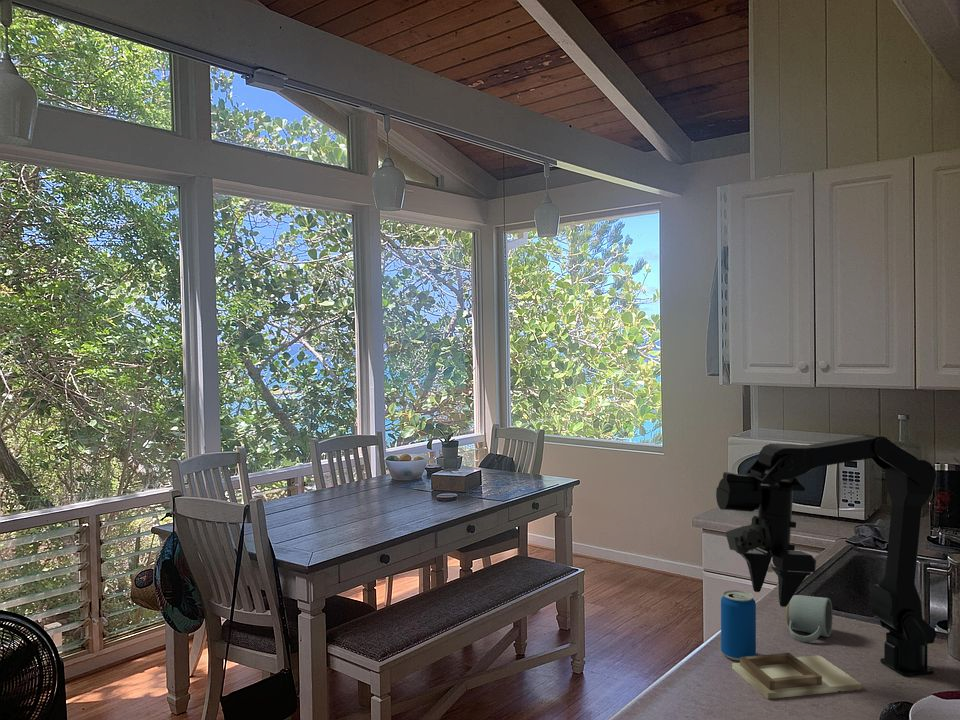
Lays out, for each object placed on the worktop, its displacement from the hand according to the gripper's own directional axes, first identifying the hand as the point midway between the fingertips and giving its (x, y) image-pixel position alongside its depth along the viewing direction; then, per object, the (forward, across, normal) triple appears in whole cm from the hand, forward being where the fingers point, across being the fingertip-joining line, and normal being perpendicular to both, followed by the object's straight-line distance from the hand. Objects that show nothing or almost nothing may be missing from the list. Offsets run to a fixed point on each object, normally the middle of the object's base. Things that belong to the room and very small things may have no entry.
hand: (769, 598), depth 135 cm
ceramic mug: (+12, -18, +20) cm, 29 cm away
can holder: (+14, +1, +5) cm, 15 cm away
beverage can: (+14, -10, 0) cm, 17 cm away
